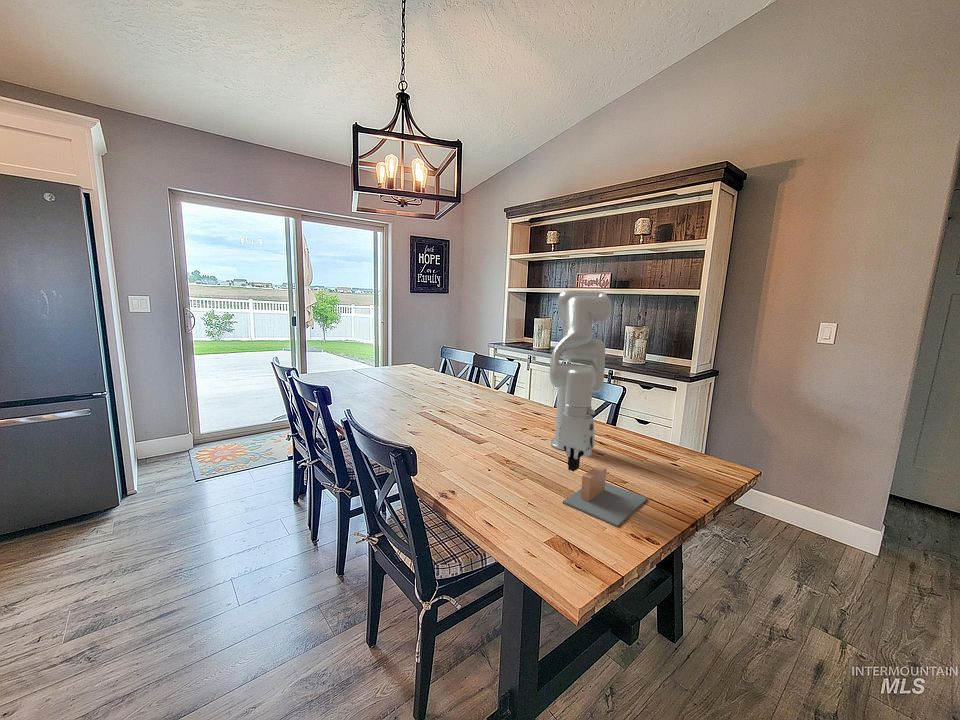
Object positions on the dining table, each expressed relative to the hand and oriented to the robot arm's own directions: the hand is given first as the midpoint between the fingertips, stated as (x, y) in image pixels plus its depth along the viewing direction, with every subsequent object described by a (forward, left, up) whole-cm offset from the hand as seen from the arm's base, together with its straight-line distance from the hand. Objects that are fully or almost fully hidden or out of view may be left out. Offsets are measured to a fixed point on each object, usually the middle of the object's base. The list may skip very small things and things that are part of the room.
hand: (573, 469), depth 118 cm
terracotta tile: (0, +7, -5) cm, 9 cm away
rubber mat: (0, +11, -6) cm, 12 cm away
